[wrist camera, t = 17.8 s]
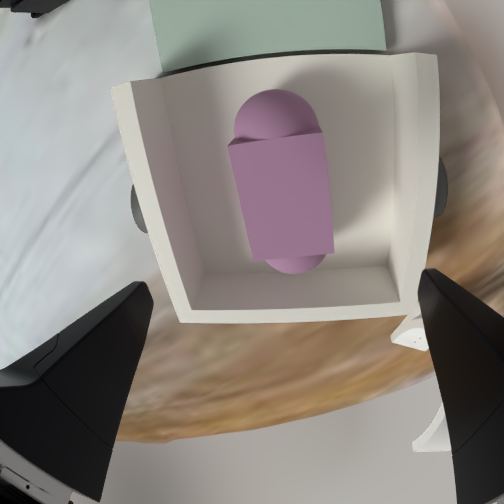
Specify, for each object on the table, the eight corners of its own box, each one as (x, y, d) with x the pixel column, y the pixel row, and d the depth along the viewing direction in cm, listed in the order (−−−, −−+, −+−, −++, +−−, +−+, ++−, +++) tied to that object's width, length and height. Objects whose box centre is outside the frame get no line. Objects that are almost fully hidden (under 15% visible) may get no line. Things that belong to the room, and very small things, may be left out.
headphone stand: (389, 335, 26) (412, 451, 16) (428, 289, 23) (474, 410, 13) (423, 345, 27) (450, 450, 17) (460, 303, 24) (507, 411, 13)
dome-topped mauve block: (234, 94, 16) (216, 100, 13) (309, 83, 15) (315, 85, 12) (266, 251, 22) (260, 292, 18) (329, 245, 21) (335, 285, 17)
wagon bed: (133, 86, 17) (91, 95, 13) (421, 59, 14) (459, 58, 10) (183, 279, 25) (163, 322, 21) (411, 269, 22) (430, 312, 18)
